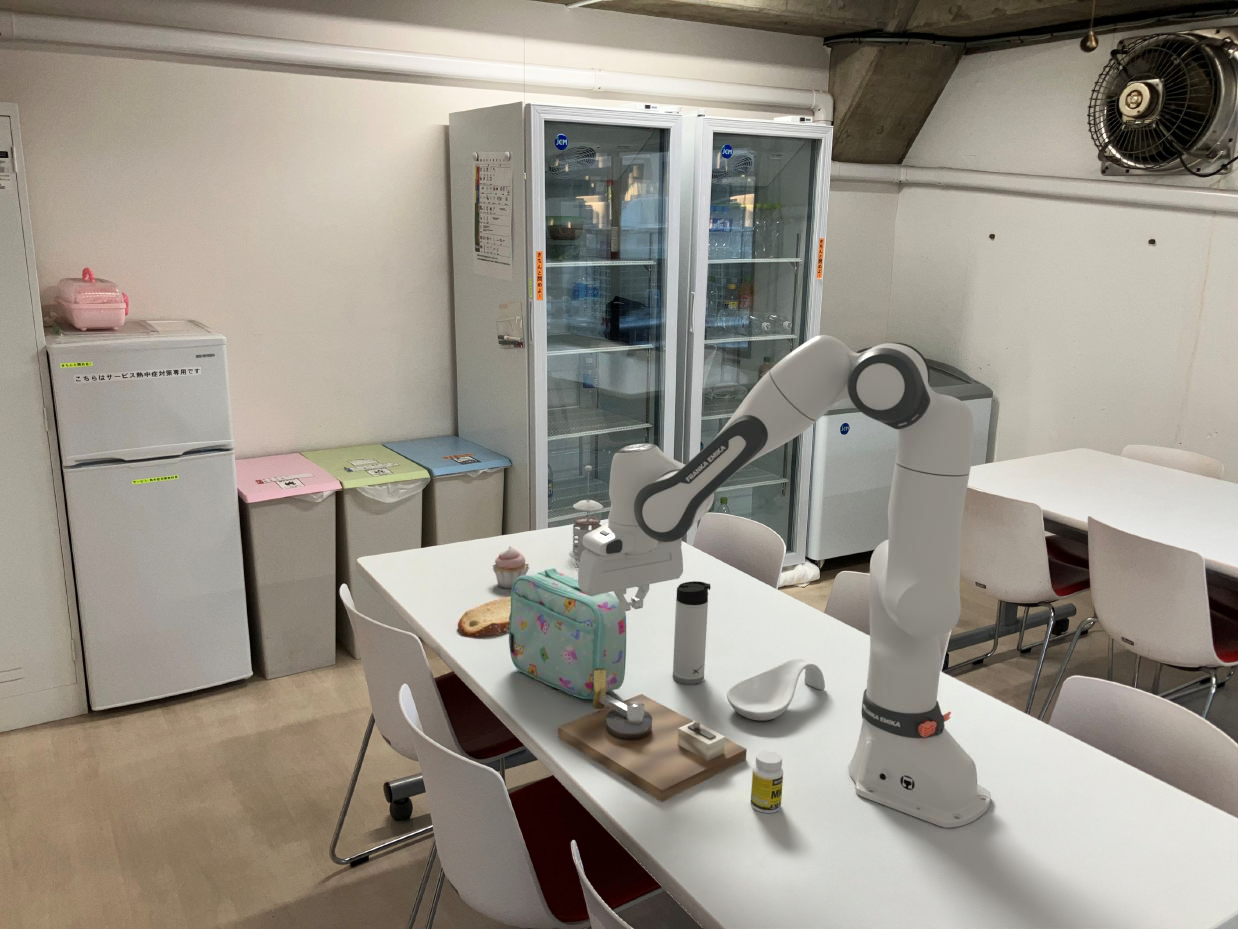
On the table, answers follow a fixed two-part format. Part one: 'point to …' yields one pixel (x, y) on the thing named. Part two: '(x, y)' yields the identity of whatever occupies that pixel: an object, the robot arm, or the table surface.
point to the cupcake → (509, 567)
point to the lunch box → (566, 633)
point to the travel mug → (690, 632)
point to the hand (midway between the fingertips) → (630, 609)
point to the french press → (584, 522)
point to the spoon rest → (772, 689)
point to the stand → (656, 749)
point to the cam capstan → (621, 712)
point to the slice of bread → (486, 619)
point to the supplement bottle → (767, 782)
